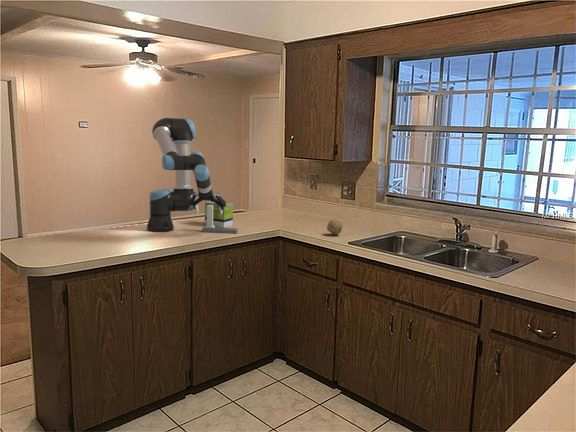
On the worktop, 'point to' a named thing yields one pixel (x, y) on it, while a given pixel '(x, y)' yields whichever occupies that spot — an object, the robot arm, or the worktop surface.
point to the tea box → (219, 219)
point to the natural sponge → (335, 226)
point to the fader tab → (210, 217)
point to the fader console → (220, 230)
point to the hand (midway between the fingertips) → (209, 212)
